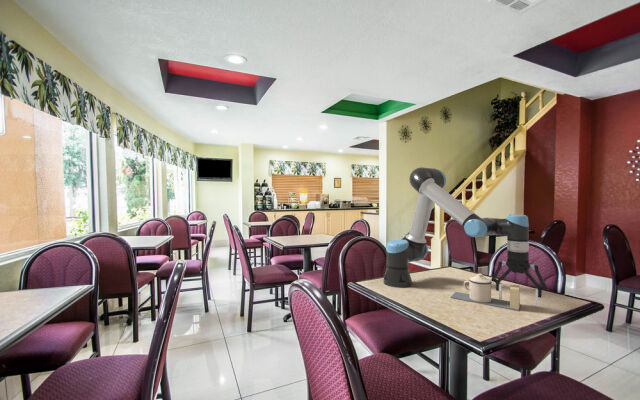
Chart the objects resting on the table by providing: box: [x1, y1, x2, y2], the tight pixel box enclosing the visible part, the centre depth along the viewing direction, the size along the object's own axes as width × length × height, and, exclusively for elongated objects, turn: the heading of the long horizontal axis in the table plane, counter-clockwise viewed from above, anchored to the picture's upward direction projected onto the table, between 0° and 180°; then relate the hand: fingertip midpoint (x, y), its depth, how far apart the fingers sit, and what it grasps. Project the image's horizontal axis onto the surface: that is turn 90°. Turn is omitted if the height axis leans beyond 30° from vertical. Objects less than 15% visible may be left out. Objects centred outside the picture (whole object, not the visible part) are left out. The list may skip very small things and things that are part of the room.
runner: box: [450, 283, 521, 312], centre depth 128 cm, size 26×10×8 cm, turn 52°
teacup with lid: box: [463, 273, 493, 303], centre depth 129 cm, size 12×9×12 cm
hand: (518, 301), depth 120 cm, fingers open, 12 cm apart
